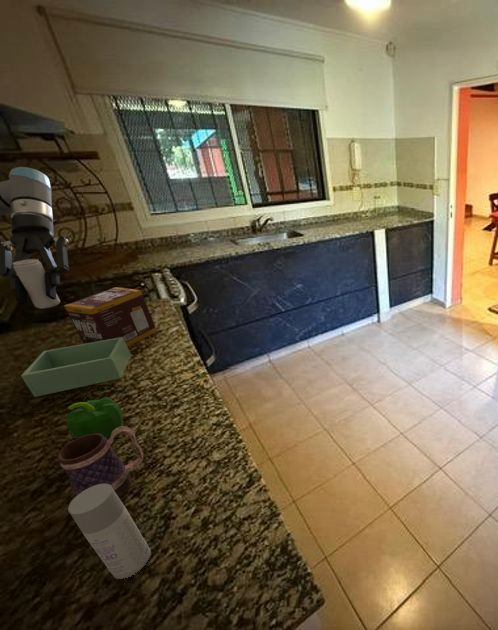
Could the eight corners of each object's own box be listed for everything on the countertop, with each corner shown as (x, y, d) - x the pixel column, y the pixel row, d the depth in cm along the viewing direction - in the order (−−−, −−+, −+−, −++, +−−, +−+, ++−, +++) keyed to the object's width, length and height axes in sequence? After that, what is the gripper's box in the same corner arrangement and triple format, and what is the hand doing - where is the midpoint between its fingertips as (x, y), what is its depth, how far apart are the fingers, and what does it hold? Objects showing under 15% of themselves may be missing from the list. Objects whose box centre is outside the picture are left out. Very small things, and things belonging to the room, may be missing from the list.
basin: (34, 397, 86) (20, 375, 83) (54, 370, 96) (43, 351, 93) (121, 378, 93) (111, 358, 90) (131, 355, 103) (123, 336, 101)
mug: (84, 518, 58) (51, 469, 53) (82, 491, 63) (51, 443, 58) (156, 482, 65) (133, 435, 59) (150, 459, 69) (127, 414, 64)
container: (111, 587, 49) (63, 522, 43) (113, 558, 53) (69, 494, 46) (151, 566, 52) (112, 501, 45) (151, 540, 55) (114, 476, 48)
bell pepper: (135, 418, 80) (118, 383, 75) (122, 444, 73) (102, 407, 68) (90, 427, 77) (70, 392, 73) (72, 455, 70) (48, 418, 66)
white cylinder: (34, 310, 87) (9, 265, 82) (37, 304, 91) (13, 261, 85) (60, 305, 90) (38, 262, 85) (62, 300, 93) (40, 257, 88)
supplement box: (85, 351, 106) (62, 305, 99) (133, 328, 119) (116, 286, 112) (111, 355, 103) (89, 309, 96) (157, 331, 117) (141, 289, 110)
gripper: (-27, 215, 85) (-27, 300, 79) (68, 209, 92) (74, 286, 86) (-4, 232, 91) (-2, 311, 86) (83, 226, 99) (90, 298, 93)
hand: (36, 299), depth 86 cm, fingers closed on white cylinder, 5 cm apart
